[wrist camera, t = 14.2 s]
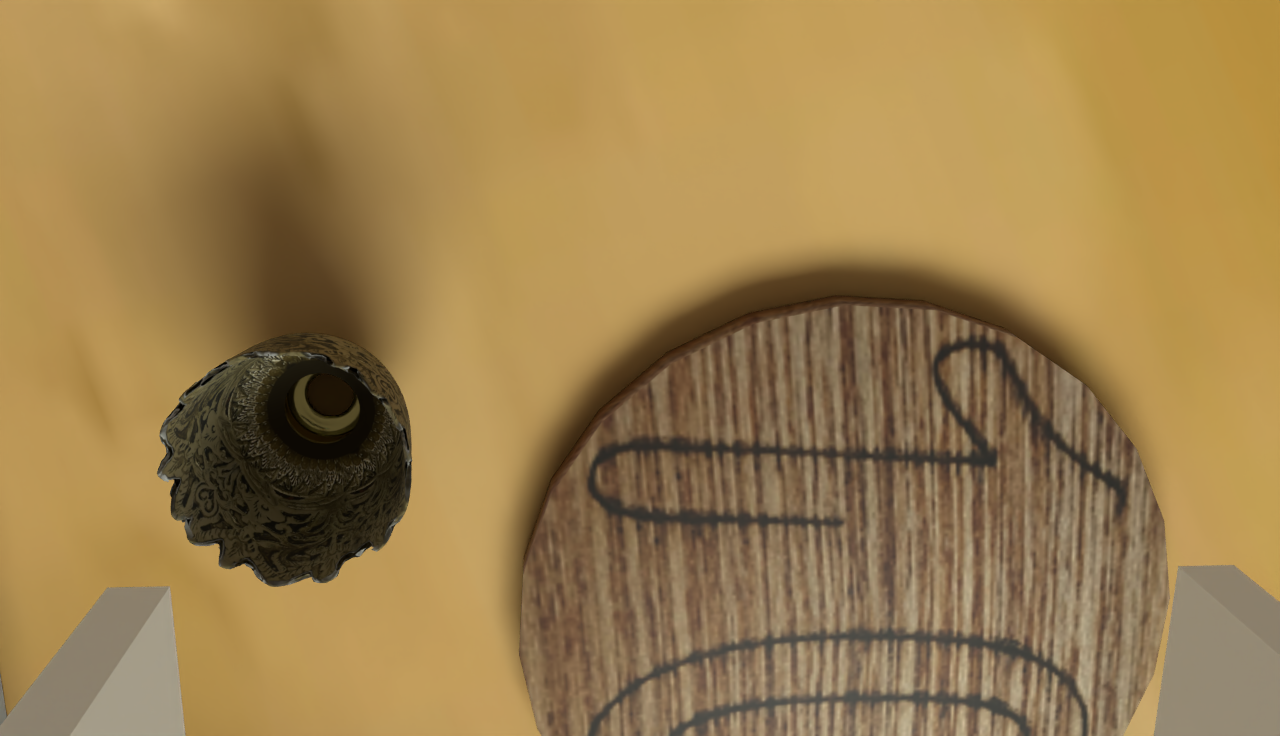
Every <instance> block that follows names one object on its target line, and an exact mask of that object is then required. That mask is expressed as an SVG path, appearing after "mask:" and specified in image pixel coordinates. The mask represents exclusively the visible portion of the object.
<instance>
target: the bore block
mask: <svg viewBox="0 0 1280 736" xmlns="http://www.w3.org/2000/svg"><path fill="white" fill-rule="evenodd" d="M6 718H7V714H6V708H5V702H4V695H3V689H2V682H1V676H0V725H1V724H2V723H3V721H4V720H5V719H6Z"/></svg>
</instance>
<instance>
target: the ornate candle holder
mask: <svg viewBox="0 0 1280 736" xmlns="http://www.w3.org/2000/svg"><path fill="white" fill-rule="evenodd" d="M321 374H330V375H334V376H336V377H338V378H340V379H342V380H343V381H345V382H346V383H347V384H348V385H349V386H350V387H351V388H352V389H353V395H354V396H353V402H352V405H351V406H350V408H349V409H348V410H347V411H346V412H345V413H343V414H341V415H338V416H325V415H322V414H320V413H318V412H317V411H315V410H314V409H313V407H312V406H311V405H310V403H309V400H308V396H307V392H308V387H309V385H310V383H311V382H312V380H313V379H314V378H316V377H317V376H319V375H321ZM179 401H180V403H179V404H178V405H177V407H176V408H175V409H174V410H173V411H172V413H171V414H170V415H169V416H168V417H167V418H166V420H165V421H164V423H163V425H162V427H161V430H160V439H161V442H162V443H163V444H164V445H165V447H166V452H167V454H166V456H165V457H164V459H163V460H162V461H161V464H160V466H159V468H158V471H157V474H158V477H160V479H163V481H167V482H169V481H168V480H172V479H174V484H173V486H172V488H171V491H170V495H171V497H172V499H171V515H172V517H173V518H174V519H175V520H177V521H179V520H182V522H185V526H184V528H185V531H186V534H187V539H188V540H189V542H190V543H192V544H194V545H196V546H210V545H214V544H219V545H220V547H219V548H220V556H219V566H220V567H222V568H225V569H232V568H235V567H237V566H241V564H245V565H246V566H248V567H250V568H251V569H252V570H253V571H254V574H255V575H256V577H257V578H258V579H260V580H261V581H262V582H264V583H265V584H267V585H269V586H271V587H279V586H285V585H290V584H293V583H296V582H298V581H301V580H303V579H306V578H309V577H312V579H313V581H314V582H317V583H327V582H329V581H331V580H333V579H334V578H335V577H337V576H338V573H339V570H340V568H341V566H342V565H343V563H344V562H345V561H347V560H349V559H351V558H353V557H359V556H361V555H362V553H363V552H364V551H365V550H366V549H368V548H370V547H371V546H372V547H374V548H373V549H372V550H374V551H379V550H380V549H381V548H382V547H383V546H384V545H385V544H386V543H387V541H388V540H389V538H390V536H391V533H392V531H393V528H394V526H395V525H396V524H397V523H398V522H399V521H400V520H401V519H402V517H403V515H404V513H405V511H406V509H407V506H408V502H409V497H410V489H411V462H412V456H411V429H410V420H409V415H408V410H407V407H406V404H405V400H404V397H403V395H402V393H401V391H400V388H399V386H398V385H397V383H396V381H395V380H394V378H393V377H392V375H391V374H390V373H389V371H388V370H387V369H386V367H385V366H384V365H383V364H382V363H381V362H380V361H379V360H378V359H377V358H375V357H374V356H373V355H372V354H371V353H369V352H368V351H366V350H365V349H363V348H362V347H360V346H358V345H356V344H354V343H352V342H350V341H347V340H345V339H342V338H339V337H335V336H331V335H326V334H317V333H296V334H290V335H284V336H280V337H277V338H273V339H270V340H267V341H265V342H262V343H259V344H257V345H255V346H253V347H251V348H249V349H247V350H245V351H243V352H242V353H240V354H238V355H236V356H234V357H232V358H231V359H228V360H226V361H225V362H224V363H222V364H221V365H219V366H218V367H216V368H214V369H212V370H211V371H209V372H208V373H207V374H206V376H205V377H203V378H202V379H201V380H200V381H198V382H195V383H194V384H193V385H192V386H191V387H190V388H189V389H188V390H186V391H185V392H184V393H183V394H182V396H181V397H180V398H179Z"/></svg>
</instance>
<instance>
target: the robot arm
mask: <svg viewBox="0 0 1280 736" xmlns="http://www.w3.org/2000/svg"><path fill="white" fill-rule="evenodd" d="M0 736H185V727H184V718H183V708H182V698H181V689H180V679H179V670H178V660H177V650H176V641H175V631H174V621H173V612H172V602H171V592H170V586H168V587H118V588H107V589H106V590H105V591H104V593H103V594H102V595H101V597H100V598H99V599H98V600H97V602H96V603H95V604H94V606H93V607H92V608H91V609H90V611H89V612H88V613H87V615H86V616H85V617H84V618H83V620H82V621H81V622H80V624H79V625H78V626H77V627H76V629H75V630H74V631H73V633H72V634H71V635H70V636H69V638H68V639H67V640H66V642H65V643H64V644H63V645H62V647H61V648H60V649H59V651H58V652H57V653H56V654H55V656H54V657H53V658H52V660H51V661H50V662H49V663H48V665H47V666H46V667H45V669H44V670H43V671H42V672H41V674H40V675H39V676H38V678H37V679H36V680H35V681H34V683H33V684H32V685H31V687H30V688H29V689H28V690H27V692H26V693H25V694H24V696H23V697H22V698H21V699H20V701H19V702H18V703H17V705H16V706H15V707H14V708H13V710H12V711H11V712H10V714H9V715H8V716H7V718H6V719H5V720H4V721H3V723H2V724H1V725H0ZM1154 736H1280V602H1279V601H1277V600H1276V599H1275V598H1274V597H1273V596H1271V595H1270V594H1269V593H1268V592H1266V591H1265V590H1264V589H1263V588H1261V587H1260V586H1259V585H1258V584H1256V583H1255V582H1254V581H1253V580H1251V579H1250V578H1249V577H1248V576H1246V575H1245V574H1244V573H1243V572H1242V571H1240V570H1239V569H1238V568H1237V567H1235V566H1234V565H1221V566H1178V572H1177V579H1176V586H1175V593H1174V600H1173V607H1172V614H1171V621H1170V628H1169V635H1168V641H1167V648H1166V655H1165V662H1164V669H1163V676H1162V683H1161V690H1160V697H1159V703H1158V710H1157V717H1156V724H1155V731H1154Z"/></svg>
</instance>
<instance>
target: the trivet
mask: <svg viewBox="0 0 1280 736" xmlns="http://www.w3.org/2000/svg"><path fill="white" fill-rule="evenodd" d="M1169 599H1170V594H1169V580H1168V567H1167V553H1166V539H1165V526H1164V519H1163V517H1162V514H1161V512H1160V509H1159V506H1158V504H1157V501H1156V499H1155V496H1154V493H1153V491H1152V488H1151V486H1150V483H1149V480H1148V478H1147V475H1146V473H1145V470H1144V467H1143V465H1142V462H1141V460H1140V457H1139V454H1138V452H1137V449H1136V448H1135V446H1134V445H1133V444H1132V443H1131V441H1130V440H1129V439H1128V437H1127V436H1126V435H1125V434H1124V432H1123V431H1122V430H1121V429H1120V427H1119V426H1118V425H1117V423H1116V422H1115V421H1114V420H1113V418H1112V417H1111V416H1110V415H1109V413H1108V412H1107V411H1106V409H1105V408H1104V407H1103V406H1102V404H1101V403H1100V402H1099V401H1098V399H1097V398H1096V397H1095V395H1094V394H1093V393H1092V392H1091V390H1090V389H1089V388H1088V387H1087V386H1086V385H1085V384H1084V383H1082V382H1081V381H1079V380H1078V379H1076V378H1075V377H1074V376H1072V375H1071V374H1069V373H1068V372H1066V371H1065V370H1063V369H1062V368H1061V367H1059V366H1058V365H1056V364H1055V363H1053V362H1052V361H1051V360H1049V359H1048V358H1046V357H1045V356H1043V355H1042V354H1041V353H1039V352H1038V351H1036V350H1035V349H1033V348H1032V347H1030V346H1029V345H1028V344H1026V343H1025V342H1023V341H1022V340H1020V339H1019V338H1018V337H1016V336H1015V335H1013V334H1012V333H1010V332H1009V331H1007V330H1006V329H1004V328H1003V327H1000V326H997V325H994V324H991V323H988V322H985V321H982V320H979V319H976V318H973V317H970V316H967V315H964V314H961V313H958V312H956V311H953V310H950V309H947V308H944V307H941V306H938V305H935V304H932V303H929V302H926V301H923V300H905V299H888V298H871V297H853V296H836V295H835V296H830V297H825V298H821V299H816V300H811V301H806V302H801V303H796V304H791V305H786V306H781V307H776V308H771V309H766V310H761V311H756V312H751V313H747V314H745V315H743V316H741V317H739V318H737V319H735V320H733V321H731V322H729V323H727V324H724V325H722V326H720V327H718V328H716V329H714V330H712V331H710V332H708V333H706V334H704V335H702V336H700V337H698V338H696V339H694V340H691V341H689V342H687V343H685V344H683V345H681V346H679V347H677V348H675V349H673V350H671V351H669V352H667V353H666V354H664V355H663V356H662V357H661V358H660V359H658V360H657V361H656V362H655V363H654V364H653V365H651V366H650V367H649V368H648V369H647V370H646V371H644V372H643V373H642V374H641V375H640V376H638V377H637V378H636V379H635V380H634V381H633V382H631V383H630V384H629V385H628V386H627V387H626V388H624V389H623V390H622V391H621V392H620V393H618V394H617V395H616V396H615V397H614V398H613V399H611V400H610V401H609V402H608V403H607V404H606V405H604V406H603V407H602V408H601V409H600V410H599V411H598V412H597V414H596V415H595V417H594V418H593V420H592V421H591V423H590V424H589V425H588V427H587V428H586V430H585V431H584V433H583V434H582V436H581V437H580V438H579V440H578V441H577V443H576V444H575V446H574V447H573V449H572V450H571V451H570V453H569V454H568V456H567V457H566V459H565V460H564V461H563V463H562V464H561V466H560V467H559V469H558V470H557V472H556V473H555V474H554V476H553V477H552V479H551V481H550V484H549V487H548V489H547V492H546V495H545V498H544V501H543V504H542V507H541V510H540V512H539V515H538V518H537V521H536V524H535V527H534V530H533V533H532V535H531V538H530V541H529V544H528V547H527V550H526V553H525V556H524V569H523V589H522V608H521V627H520V647H519V656H520V660H521V664H522V668H523V672H524V676H525V680H526V684H527V688H528V692H529V696H530V700H531V704H532V708H533V712H534V717H535V721H536V725H537V729H538V730H539V732H540V734H541V736H1123V735H1124V733H1125V731H1126V729H1127V727H1128V725H1129V723H1130V721H1131V719H1132V717H1133V715H1134V713H1135V711H1136V709H1137V707H1138V705H1139V703H1140V701H1141V699H1142V697H1143V695H1144V693H1145V691H1146V689H1147V687H1148V685H1149V683H1150V681H1151V679H1152V677H1153V675H1154V671H1155V667H1156V662H1157V657H1158V652H1159V647H1160V643H1161V638H1162V633H1163V628H1164V623H1165V619H1166V614H1167V609H1168V604H1169Z"/></svg>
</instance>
